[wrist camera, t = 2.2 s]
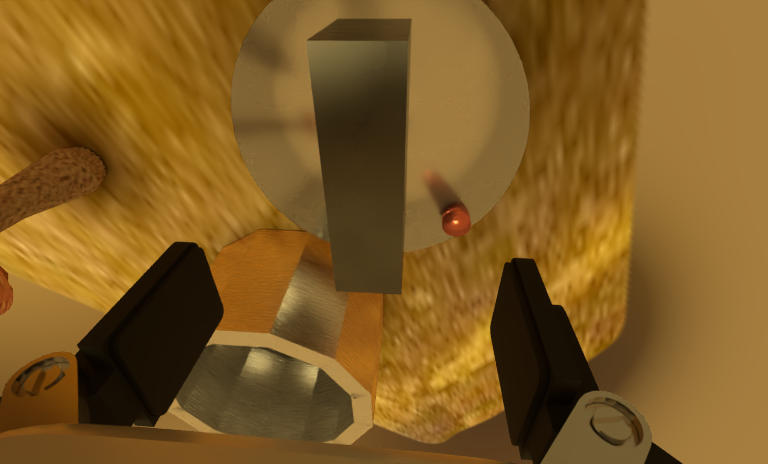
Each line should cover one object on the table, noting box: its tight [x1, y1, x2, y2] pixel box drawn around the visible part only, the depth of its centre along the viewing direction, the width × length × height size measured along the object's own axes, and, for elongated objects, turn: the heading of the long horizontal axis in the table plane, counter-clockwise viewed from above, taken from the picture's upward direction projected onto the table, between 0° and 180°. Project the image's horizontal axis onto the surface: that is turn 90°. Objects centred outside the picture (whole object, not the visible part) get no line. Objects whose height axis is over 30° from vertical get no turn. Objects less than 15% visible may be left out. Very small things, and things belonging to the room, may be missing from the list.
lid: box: [231, 0, 530, 294], centre depth 18 cm, size 15×15×8 cm
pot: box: [168, 229, 384, 445], centre depth 27 cm, size 14×14×9 cm
